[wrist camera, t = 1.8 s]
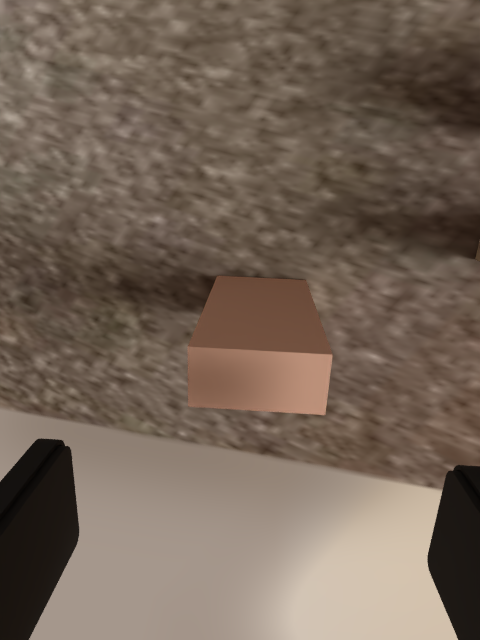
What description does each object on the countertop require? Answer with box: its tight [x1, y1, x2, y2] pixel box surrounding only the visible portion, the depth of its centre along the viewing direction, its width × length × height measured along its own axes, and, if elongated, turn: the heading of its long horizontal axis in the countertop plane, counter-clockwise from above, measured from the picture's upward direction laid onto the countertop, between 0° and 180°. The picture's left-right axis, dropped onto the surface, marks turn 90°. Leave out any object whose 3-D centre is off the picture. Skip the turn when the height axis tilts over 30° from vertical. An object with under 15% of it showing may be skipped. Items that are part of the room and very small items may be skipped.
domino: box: [188, 276, 332, 415], centre depth 20 cm, size 2×5×10 cm, turn 88°
